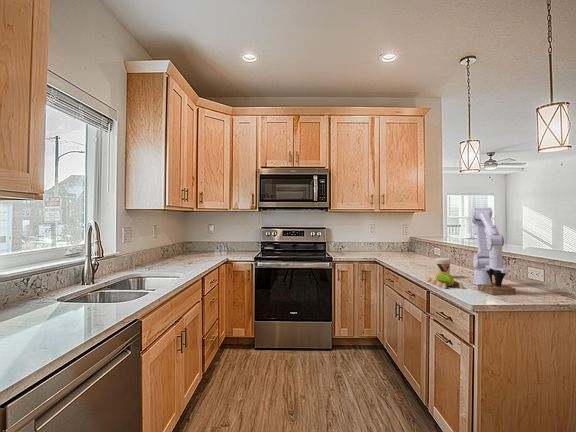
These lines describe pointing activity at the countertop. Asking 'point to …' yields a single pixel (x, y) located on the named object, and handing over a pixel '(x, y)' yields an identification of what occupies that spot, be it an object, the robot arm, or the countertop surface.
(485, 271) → the robot arm
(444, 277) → the green orange papaya
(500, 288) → the walnut block
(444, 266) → the coffee cup
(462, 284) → the chock rails
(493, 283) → the peg
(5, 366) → the countertop surface
